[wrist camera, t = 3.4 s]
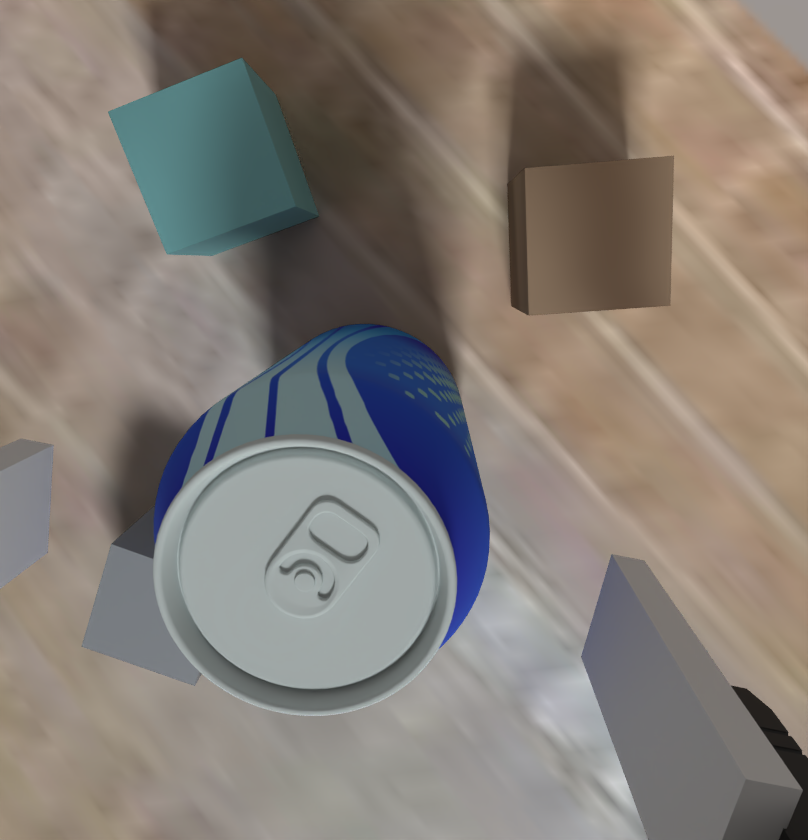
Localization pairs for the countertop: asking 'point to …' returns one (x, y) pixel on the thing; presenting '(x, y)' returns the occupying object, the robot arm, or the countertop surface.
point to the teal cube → (214, 161)
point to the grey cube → (135, 609)
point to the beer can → (323, 525)
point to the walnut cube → (591, 236)
